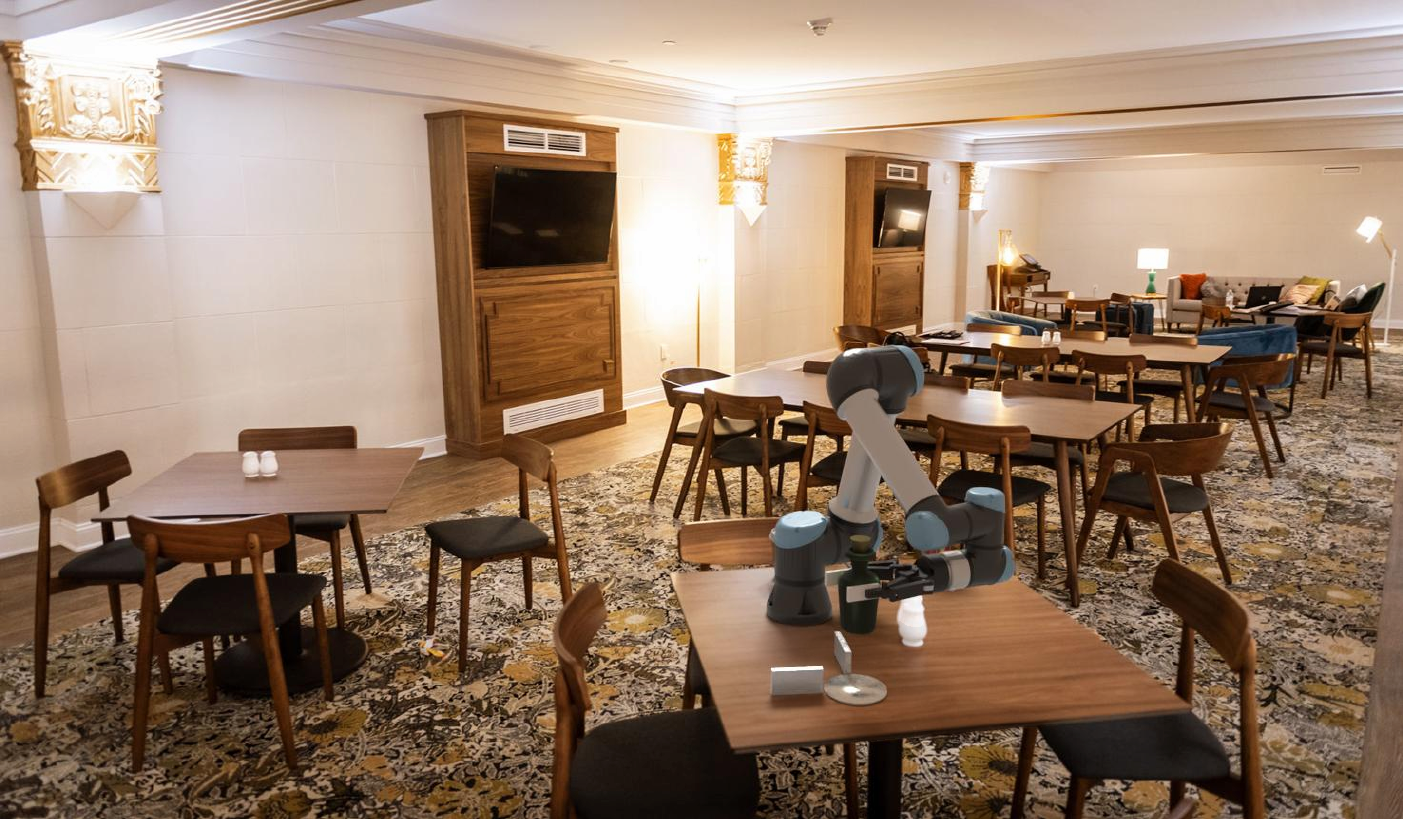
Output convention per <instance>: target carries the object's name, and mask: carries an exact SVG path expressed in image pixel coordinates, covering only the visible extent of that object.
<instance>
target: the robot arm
mask: <svg viewBox="0 0 1403 819" xmlns="http://www.w3.org/2000/svg"><path fill="white" fill-rule="evenodd" d="M924 382H925V370H924V365H923V364H922V363H921V359H920V357H919V355H918V354H917V353H916V352H915V351H914V350H913V349H911V348H910V347H908V346H905V345H895V344H887V345H883V346H872V347H862V348H861V347H860V348H859V347H855V348H850V349H847V350H845V351H843V352H841V353H840V354H838V355H837V356H836V357H835V358H834V359H833V360H832V362H831V363H830V365H829V367H828V370H827V374H826V380H825V388H826V394H827V397H828V401H829V403H830V405H831V406H832V410H834V412H835V414H836V415H837V417H838V418H839V420H842V421H846V423H848V425H849V427H850V428H851V430H852V433H851V437H850V442H849V446H848V449H847V454H846V458H845V463H844V467H843V472H842V475H841V480H840V484H839V488H838V493H837V495H836V496H835V497H833V498H831V499H830V500H829V502H828V506H827V509H826V511H827V512H826V514H825V515H824V514H823V513H821V512H818V511H814V510H804V511H802V510H799V511H794V512H790V513H787V514H784V515H783V516H782V517H780V518H779V519H778V520H777V522H776V524H775V527H774V528H775V536H774V542H775V572H774V580H773V581H774V582H773V584H772V588H771V590H770V593H769V595H768V599H767V602H766V614H767V615H766V616H767V617H769V619H771V620H772V619H773V620H772V621H774V620H775V621H774V622H776V621H777V623H779V622H780V624H784V625H788V626H796V627H808V626H809V627H811V626H815V625H820V624H822V623H826V622H827V621H829V620H831V618H832V616H833V614H832V613H833V606H832V605H833V604H832V602H831V598H830V596H829V592H828V589H827V587H831V586H838V578H839V576H840V575H841V574H842V573H843V572H845V571H847V570H849V569H852V568H849V569H848V568H842V569H836V570H835V569H834V570H828V571H827V570H826V568H827V567H830V566H834V565H839V564H844V562H847V563H850V559H849V558H847V557H845V555H844V553H845V551H846V549H847V548H848V547H850V546H852V545H851V540H850V537H851V536H854V535H864V536H868V537H870V538H871V540H870V544H869V547H870V548H872V549H873V550H874V552H875V553H876V552H878V549H879V548H880V547H881V544H882V541H883V537H884V529H883V528H882V524H883V523H882V519H881V518H880V517H879V513H878V512H879V511H878V510H877V508H876V507H875V501H876V496H877V494H878V489H879V485H880V481H881V478H882V479H883V481H884V482H885V484H886V485H887V486H888V488H889V490H890V491H891V493H892V494H893V496H894V497H895V499H896V501H897V503H898V504H899V506H900V507H901V509H902V510H903V511H904V513H905V515H906V517H907V518H906V520H905V522H904V532H905V534H906V537H905V538H906V540H907V542H908V544H909V545H910V546H911V547H912V548H914V549H915V550H917V551H920V552H922V551H930V550H940V549H942V548H944V547H948V546H951V547H952V546H955V545H959V544H963V549H957V550H956V549H955V550H950V551H946V552H940V553H933V554H926V555H922V554H921V555H919V556H918V557H917V558H916V560H915V561H914V563H908V562H907V563H902V564H901V563H900V559H899V558H893V559H890V560H889V559H888V560H875V561H869V565H868V568H867V569H868V570H869V571H871V572H873V573H874V574H876V575H877V576H878V578H879V580H880V581H881V586H880V584H879V583H873V584H866V585H859V586H851V587H847V602H855V601H862V600H869V599H875V598H879V599H880V598H881V599H882V600H887V599H888V602H890V603H895V602H900V601H904V600H907V599H911V598H916V597H920V596H925V595H928V596H929V595H933V594H936V593H942V592H944V591H945V592H947V591H950V592H955V590H961V589H967V588H974V587H983V586H994V585H996V584H997V585H998V584H1001V583H1004V582H1007V581H1009V580H1011V579H1012V578H1013V576H1014V574H1015V572H1016V562H1015V560H1014V558H1015V556H1014V554H1013V552H1012V550H1011V549H1010V548H1009V547H1008V546H1006V545H1004V537H1005V536H1004V534H1005V533H1004V531H1005V519H1006V518H1005V517H1006V513H1007V512H1006V496H1005V494H1004V493H1003V492H1002V491H1001V490H999V489H996V488H992V487H982V486H979V487H977V486H975V487H971V488H969V489H968V490H967V491H966V493H965V498H964V502H961V503H957V504H950V505H947V504H946V503H945V501H944V499H943V498H942V497H941V495H940V494H939V492H938V490H937V489H936V488H935V486H934V485H933V483H932V481H931V480H930V479H929V477H928V475H927V474H926V473H925V472H926V471H925V470H924V469H923V467H922V466H921V464H920V463H919V462H918V460H917V459H916V457H915V456H914V454H913V453H912V451H911V450H910V448H909V447H908V445H907V443H906V442H905V440H904V438H902V436H901V434H900V433H899V431H898V430H897V428H896V427H895V424H896V419H897V417H898V416H900V415H902V414H904V413H905V411H906V408H907V404H908V400H909V398H913V397H915V396H916V395H918V394H919V393H920V392H921V391H922V389H923V386H924ZM887 581H888V582H887Z"/></svg>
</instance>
